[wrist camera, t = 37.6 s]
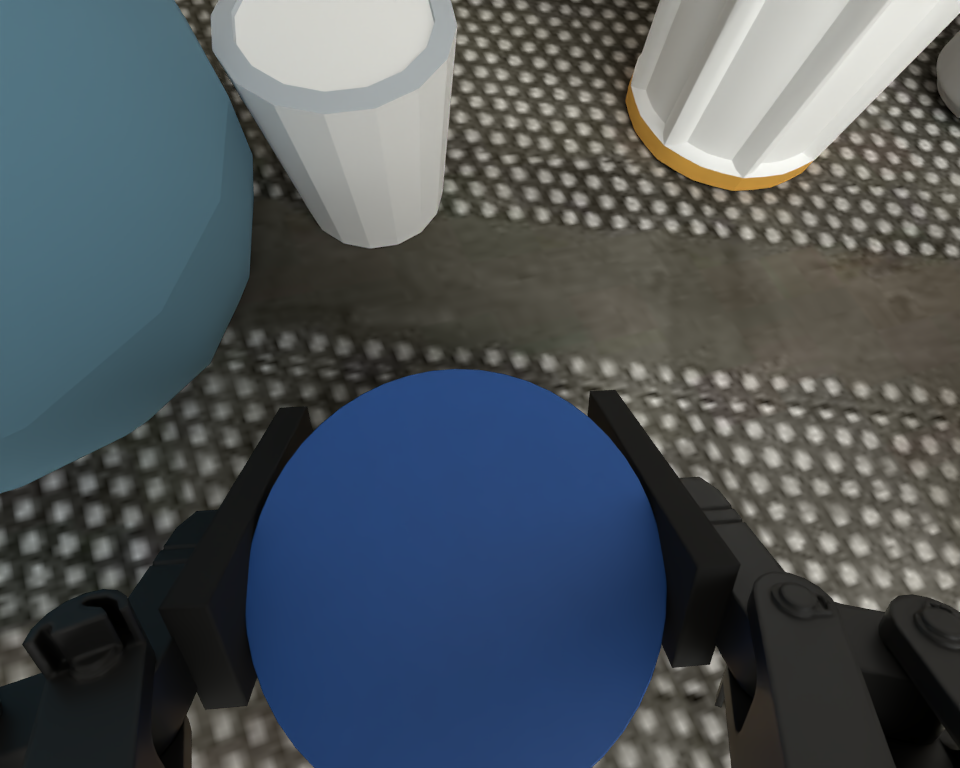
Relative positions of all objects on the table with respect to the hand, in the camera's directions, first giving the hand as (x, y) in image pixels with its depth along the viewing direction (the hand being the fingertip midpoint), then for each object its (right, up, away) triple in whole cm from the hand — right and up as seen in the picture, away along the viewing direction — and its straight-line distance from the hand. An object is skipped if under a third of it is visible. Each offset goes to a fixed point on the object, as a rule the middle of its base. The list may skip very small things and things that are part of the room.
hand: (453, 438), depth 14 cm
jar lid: (0, -2, -5) cm, 5 cm away
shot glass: (-4, +10, +6) cm, 12 cm away
